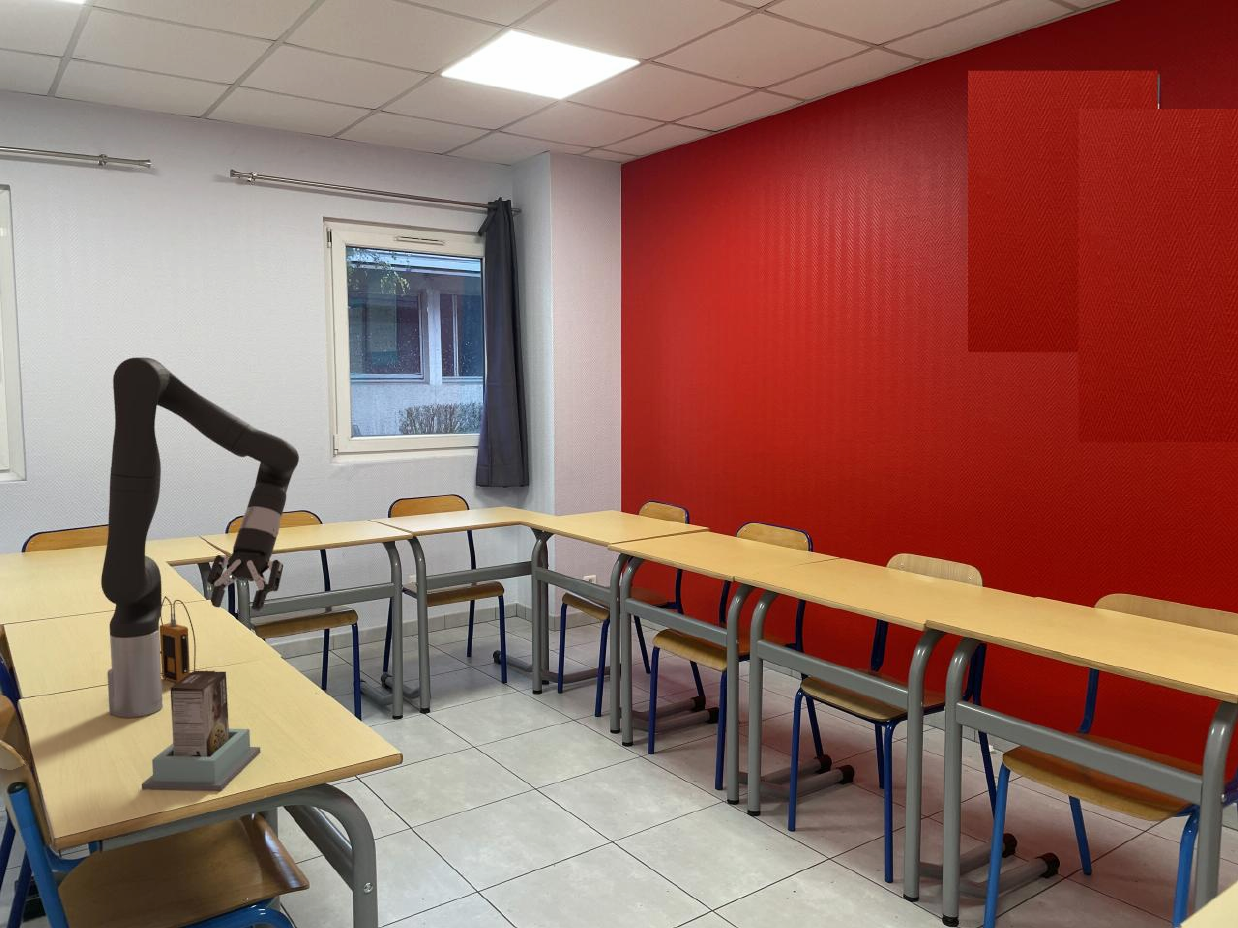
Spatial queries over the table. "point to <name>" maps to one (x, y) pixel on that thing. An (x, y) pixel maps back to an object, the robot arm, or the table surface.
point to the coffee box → (199, 714)
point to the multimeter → (175, 648)
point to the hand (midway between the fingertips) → (235, 608)
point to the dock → (202, 766)
